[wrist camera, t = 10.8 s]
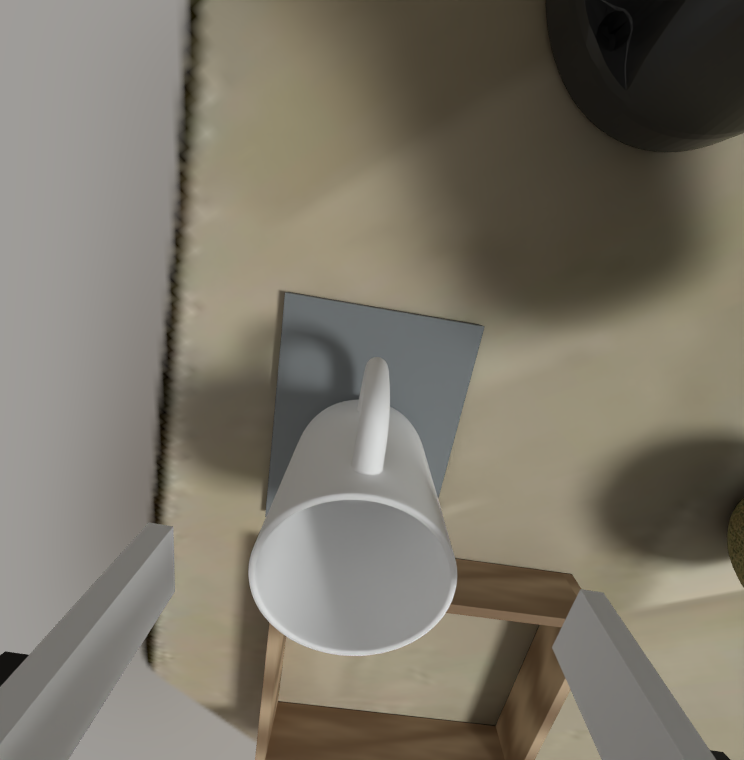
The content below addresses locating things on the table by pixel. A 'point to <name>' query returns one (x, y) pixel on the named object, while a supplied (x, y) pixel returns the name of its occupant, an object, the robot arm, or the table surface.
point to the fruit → (737, 540)
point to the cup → (355, 533)
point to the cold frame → (431, 736)
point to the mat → (347, 365)
